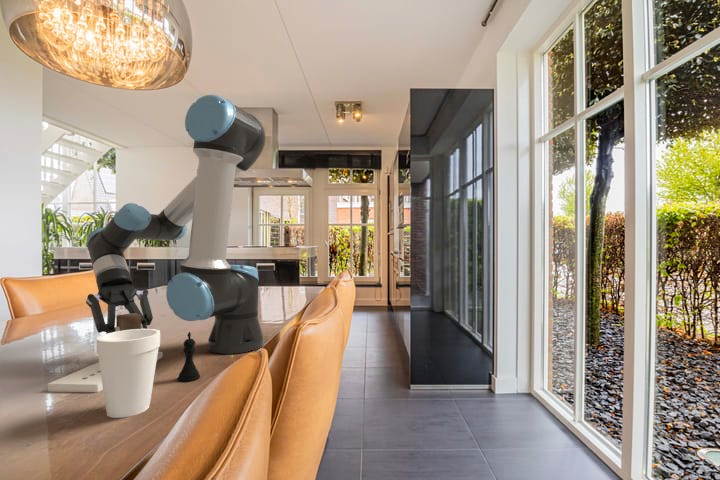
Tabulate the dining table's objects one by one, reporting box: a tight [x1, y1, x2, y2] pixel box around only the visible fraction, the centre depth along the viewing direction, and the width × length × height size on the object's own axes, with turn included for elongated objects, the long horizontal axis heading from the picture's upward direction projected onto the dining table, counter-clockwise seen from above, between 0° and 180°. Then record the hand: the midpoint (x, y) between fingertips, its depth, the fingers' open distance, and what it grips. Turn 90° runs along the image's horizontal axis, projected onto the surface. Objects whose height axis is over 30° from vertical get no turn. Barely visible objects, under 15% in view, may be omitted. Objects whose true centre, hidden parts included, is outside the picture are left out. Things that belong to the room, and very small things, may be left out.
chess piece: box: [177, 331, 201, 383], centre depth 78 cm, size 4×4×10 cm
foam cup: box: [96, 328, 161, 419], centre depth 63 cm, size 10×9×13 cm
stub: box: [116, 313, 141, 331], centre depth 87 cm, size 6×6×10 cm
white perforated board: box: [47, 351, 164, 393], centre depth 82 cm, size 10×22×2 cm, turn 178°
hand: (133, 350), depth 85 cm, fingers closed on stub, 4 cm apart
